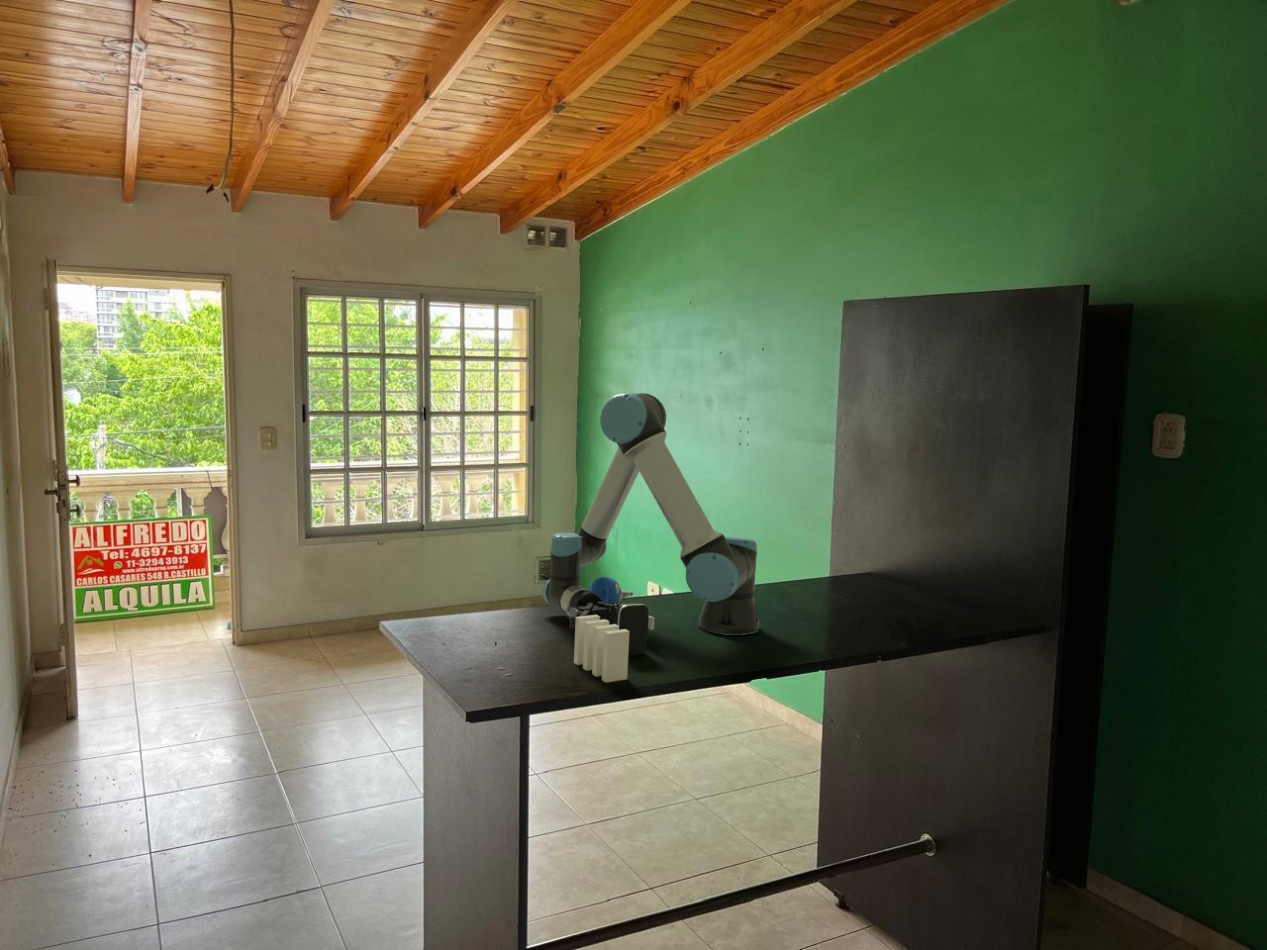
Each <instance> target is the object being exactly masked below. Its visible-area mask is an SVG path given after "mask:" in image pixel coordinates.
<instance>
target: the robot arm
mask: <svg viewBox="0 0 1267 950" xmlns="http://www.w3.org/2000/svg"><path fill="white" fill-rule="evenodd" d="M666 423H667V413H666V408H665V405H664V404H663V403H662V402H661V401H660V399H658V398H657V397H656V396H654V395H652V394H649V393H642V392H641V393H633V392H623V393H618V394H616V395H612V396H611V397H610V398H609V399H608V400H607V401H606V402H605V403H604V405H603V407H602V408H601V413H600V416H599V424H600V428H601V431H602V433H603V434H604V436H605V437H606V438H607V439H608V440H610V441H612V442H614V444H615V443H616V444H617V446H618V447H617V449H616V452H615V453H614V456H613V458H612V460H611V462H610V464H609V467H608V469H607V471H606V473H605V475H604V477H603V480H602V481H601V484H600V485H599V488H598V490H597V492H596V494H595V496H594V498H593V500H592V503H591V505H590V508H589V509H588V512H587V513H586V515H585V518H584V520H583V522H582V524H581V527H580V529H579V531H578V533H575V532H574V533H573V532H558V533H557V532H556V533H554V534H553V535H552V537H551V544H550V549H549V551H550V559H549V561H550V565H549V566H550V567H549V570H550V571H549V579H548V580H547V581H546V582H545V583H544V586H543V588H542V597H543V599H544V600H545V602H546V603H547V604H548V605H550V606H551V607H552V608H553V609H555V610H558V611H561V612H563V613H565V614H566V618H567V619H569V628H570V629H571V630H572V629H575V623H576V617H581V616H589V615H598V616H600V620H604V619H606V620H608V621H609V620H611V621H612V620H614V619H616V612H617V608H618V606H619V605H621V604H622V603H621V602H619V603H618V602H613V604H606V603H604V602H602V600H601V598H600V597H599V596H598V595H597V594H595V593H593V592H591V591H589V589H587V588H586V587H585V588H584V587H582V586H580V579H581V577H580V576H581V567H583V566H585V565H588V564H591V563H594V562H597V561H598V560H600V559H601V558H602V557H604V555H605V553H606V552H607V539H608V538H609V536H610V533H611V532H612V529H613V528H614V525H615V523H616V521H617V519H618V517H619V515H620V512H621V510H622V508H623V506H624V505H625V503H626V500H627V498H628V496H629V494H630V492H631V489H632V487H633V485H634V484H635V481H636V479H637V477H638V476H639V473H640V475H641V476H642V478H643V480H644V482H645V484H646V485H647V488H648V489H649V491H650V493H651V495H652V496H653V498H654V500H655V501H656V504H657V505H658V507H659V510H660V511H661V513H662V515H663V516H664V517H665V520H666V521H667V523H668V526H669V527H670V528H671V530H672V533H673V534H674V537H675V538H676V540H677V541H678V543H679V545H680V547H681V551H680V555H679V558H680V561H681V562H682V564H683V566H684V567H685V570H686V571H685V581H686V585H687V586H688V588H689V590H690V591H691V593H692V594H693V595H694V596H695V597H697V598H698V599H701V600H703V601H704V603H703V606H702V609H701V613H700V614H699V617H698V627H699V626H700V627H701V628H702V629H704V630H708V631H712V632H717V633H724V634H742V633H750V632H753V631H756V630H757V629H758V628H759V629H760V619H759V615H758V611H757V606H756V603H755V599H754V598H755V583H756V572H757V571H756V570H757V568H756V567H757V555H758V550H757V549H758V545H757V542H756V541H755V540H754V539H750V538H744V537H735V536H734V537H733V536H725V535H724V534H723V532H719V531H716V530H715V529H713V526H712V525H711V523H710V522H709V519H708V517H707V516H706V514H705V512H704V511H703V509H702V507H701V505H700V502H699V501H698V500H697V498H696V496H695V495H694V493H693V491H692V488H691V487H690V486H689V483H688V482H687V480H686V478H685V477H684V475H683V473H682V471H681V469H680V467H679V465H678V463H676V461H675V459H674V456H673V455H672V453H671V452H670V451H671V450H669V448H668V446H667V445H666V437H667V431H666V430H665V427H666ZM609 614H610V615H609ZM700 627H699V628H700ZM701 628H700V629H701ZM702 629H701V630H702ZM648 630H651V631H653V630H655V617H653V616H651V615H649V622H648ZM704 630H703V631H704Z"/></svg>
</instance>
